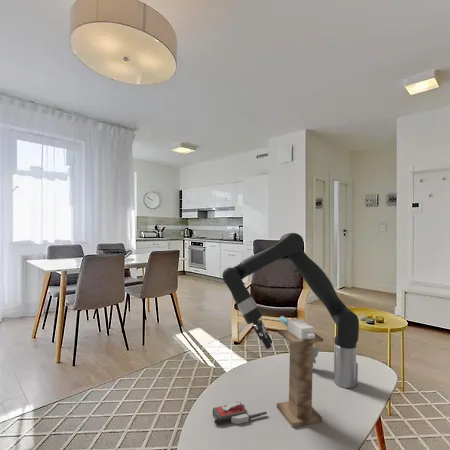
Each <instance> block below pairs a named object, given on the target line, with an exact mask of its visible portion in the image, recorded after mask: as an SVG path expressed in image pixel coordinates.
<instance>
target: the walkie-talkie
mask: <svg viewBox="0 0 450 450" xmlns="http://www.w3.org/2000/svg"><path fill="white" fill-rule="evenodd" d="M267 414H268V413H267V411H262V412H258V413H253V414H248V411H247V409H246V407H245V405H244V404H243V403H242V402H239V401H235V402H230V403H228V404H226V405H221V406H216V407H213V408H212V417H213V419H214V421H213V422H214V424H215V425H224V424H229V423H232V424H236V425H239V424H244V423H249V422H250V421H249V420H251V419H254V418H258V417H261V416H265V415H267Z"/></svg>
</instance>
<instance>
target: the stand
mask: <svg viewBox="0 0 450 450" xmlns="http://www.w3.org/2000/svg"><path fill="white" fill-rule="evenodd" d="M277 333H278V334H279V335H280V336H282V337H283V338H284V339H286V341H288V342H289V369H288V371H289V373H288V377H289V378H288V379H289V380H288V381H289V383H288V387H289V388H288V401H283V402H277V403H276V408H277V410H278V411H279V412H280V413H281V414H282V416H283V417H284V418H285V420H286V421H287V422H288V424H289V425H290V426H291V427H292V428H297V427H301V426H306V425H311V424H316V423H320V422H322V421H323V417H322V416H321V414H320V413H319V412H318V411H316V409H314V407H313V368H312V366H313V367H314V362H313V345H314V343H321V342H324V338H323V337H322V336H320V335H318V334H316V333H315V332H314V335H315V338H313V339H305V340H301V339H299V338H298V337H296V336H295V335H293V334H292V333H291V332H289V331H288V330H287V329H285V328H284V329H278V330H277Z"/></svg>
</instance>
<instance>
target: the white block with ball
mask: <svg viewBox="0 0 450 450" xmlns="http://www.w3.org/2000/svg"><path fill="white" fill-rule="evenodd" d="M279 322H280V323H282V325H284V326H286V327H287V330H288V331H289V332H291V333H292V334H293V335H295V336H296V337H298V338H299V339H301V340H305V339H313V338H315V335H314V333H315V329H314V326H312V325H310V324H308V323H307V322H305V321H303V320H301V319H300V318H296V319H294V318H293V319H289V318H287V317H285V316H284V315H281V316H280V317H279Z"/></svg>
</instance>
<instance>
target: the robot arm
mask: <svg viewBox="0 0 450 450" xmlns="http://www.w3.org/2000/svg"><path fill="white" fill-rule="evenodd" d="M304 245H305V243H304V238H303V236H302V235H300V234H299V233H296V232H290V233H286V234H283V235H281V237H280V239H279V242H277V243H276V244H274V245H273V246H271V247H268V248H267V249H263V250H262V251H259V252H256V253H255V254H253V255H251V256H248V257H247V258H245V259H243V260H241V261H240V263H238V264H236V265H235V266H233V267H231V266H230V267H227V268H225V269H224V270H223V272H222V276H221V277H222V280H223V282H224V284H226V287H227V288H228V289H229V291H230V293H231V295H232V299H233V300H234V301H235V303H236V305H237V308H238V310H239V312H240V313H241V315H242V317H243V319H244V321H245V322H246V324H247V325H250V324H253V325H252V328H253V330H254V331H255V334H256V335H257V337H258V339H259V340H260V341H261V342H262V343H263V345H264V347H265V349H266V350H268V349H271V348H272V343H273V340H272V338H271V336H270V335H269V331H268V329H267V327H266V326H265V324H264V321H263V320H262V319H261V318H262V317H263V312H262V311H261V310H260V308H259V305H258V304H257V303H256V301H255V300H254V297H252V295H251V294H250V291H249V290H248V289H247V287H246V285H245V284H244V281H243V280H244V279H245V278H246V277H248V276H251V275H252V274H255V273H256V272H259V271H260V270H261V269H264V268H265V267H267V266H268V265H270V264H272V263H274V262H276V261H277V260H280V259H282V258H285V257H287V258H289V260H290V261H291V262H292V263H293V265H294V266H295V267H296V269H297V271H298V272H299V274H300V275H301V277H302V278H303V279H304V281H305V282H306V284H307V285H308V287H309V289H310V290H311V291H312V293H314V295H315V296H316V297H317V298H318V299H319V301H320V302H321V303H322V304H323V305H324V306H325V308H326V309H327V311H328V313H329V315H330V316H331V318H332V321H333V322H334V324H335V325H336V326H337V332H336V335H335V336H334V343H333V344H334V345H333V346H334V348H333V350H334V351H333V352H334V353H333V382H334V383H335V385H337V386H339V387H341V388H345V389H353V388H355V387H356V386H357V385H358V384H359V382H358V378H359V377H358V376H359V374H358V373H359V372H358V371H359V363H358V362H357V343H358V341H359V334H360V319H359V317H358V315H357V314H356V313H355V312H353V310H351V309H349V307H348V306H346V305H345V303H344V302H343V301H342V300H341V298H340V297H339V296H338V294H337V293H336V290H335V288H334V285H333V284H332V281H331V279H330V278H329V277H328V276H327V274H326V273H325V271H324V270H323V269H322V268H321V267H320V266H319V265H318V264H317V263H316V262H315V261H314V260H313V259H311V258H310V257H309V255H308V254H306V252H305V251H304V249H303V248H304Z"/></svg>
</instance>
